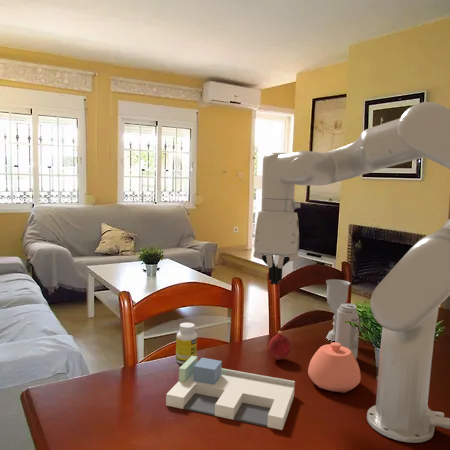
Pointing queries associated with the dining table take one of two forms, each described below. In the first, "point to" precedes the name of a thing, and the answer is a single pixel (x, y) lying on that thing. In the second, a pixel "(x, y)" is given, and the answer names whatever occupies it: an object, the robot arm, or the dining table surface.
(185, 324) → the supplement bottle
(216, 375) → the block
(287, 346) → the onion
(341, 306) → the energy drink can
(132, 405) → the dining table surface
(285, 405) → the box
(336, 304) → the chalice
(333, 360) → the sugar bowl
